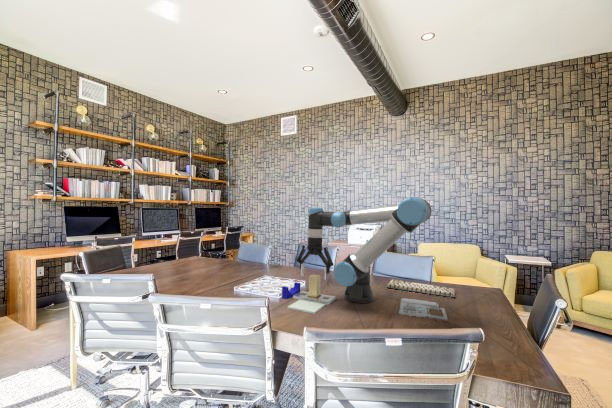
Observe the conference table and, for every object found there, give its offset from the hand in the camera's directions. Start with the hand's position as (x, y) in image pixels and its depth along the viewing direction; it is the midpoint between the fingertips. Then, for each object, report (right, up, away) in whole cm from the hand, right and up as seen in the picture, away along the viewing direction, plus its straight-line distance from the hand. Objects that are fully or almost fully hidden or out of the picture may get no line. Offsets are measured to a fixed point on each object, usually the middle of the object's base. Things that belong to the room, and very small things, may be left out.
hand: (314, 277), depth 148 cm
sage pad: (-4, -11, -13) cm, 17 cm away
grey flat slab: (+51, -12, -13) cm, 54 cm away
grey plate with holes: (0, -11, 0) cm, 11 cm away
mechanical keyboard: (+63, -13, +19) cm, 67 cm away
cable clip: (-13, -11, +5) cm, 18 cm away
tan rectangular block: (0, -11, 0) cm, 11 cm away
